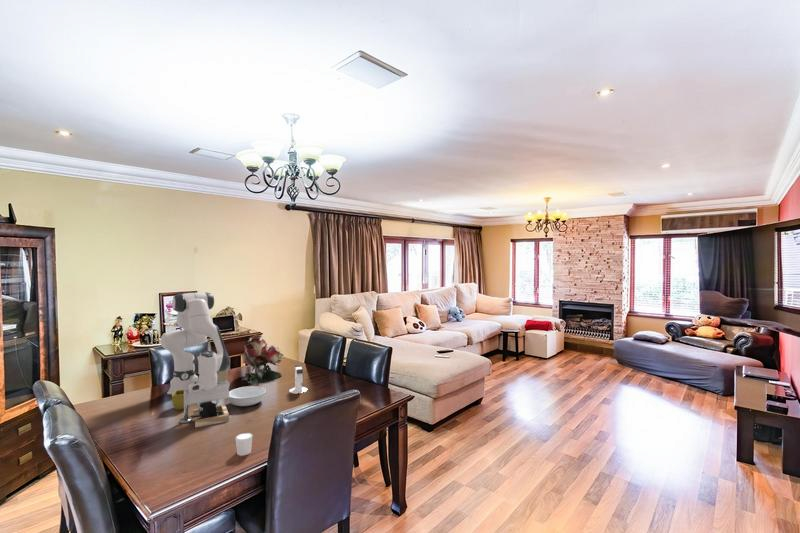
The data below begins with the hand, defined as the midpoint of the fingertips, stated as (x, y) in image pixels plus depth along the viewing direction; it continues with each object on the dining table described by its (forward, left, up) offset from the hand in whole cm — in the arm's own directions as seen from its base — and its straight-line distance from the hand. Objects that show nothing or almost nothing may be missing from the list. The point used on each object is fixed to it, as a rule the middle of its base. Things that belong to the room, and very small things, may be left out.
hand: (208, 409), depth 200 cm
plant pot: (-44, +8, -5) cm, 45 cm away
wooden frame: (0, +1, -5) cm, 5 cm away
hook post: (0, -10, -5) cm, 11 cm away
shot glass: (+47, +10, -5) cm, 48 cm away
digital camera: (0, +1, -4) cm, 4 cm away
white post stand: (-18, +53, -5) cm, 56 cm away
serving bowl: (-12, +21, -5) cm, 25 cm away
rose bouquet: (-60, +38, -5) cm, 71 cm away
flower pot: (-23, -11, -5) cm, 26 cm away
